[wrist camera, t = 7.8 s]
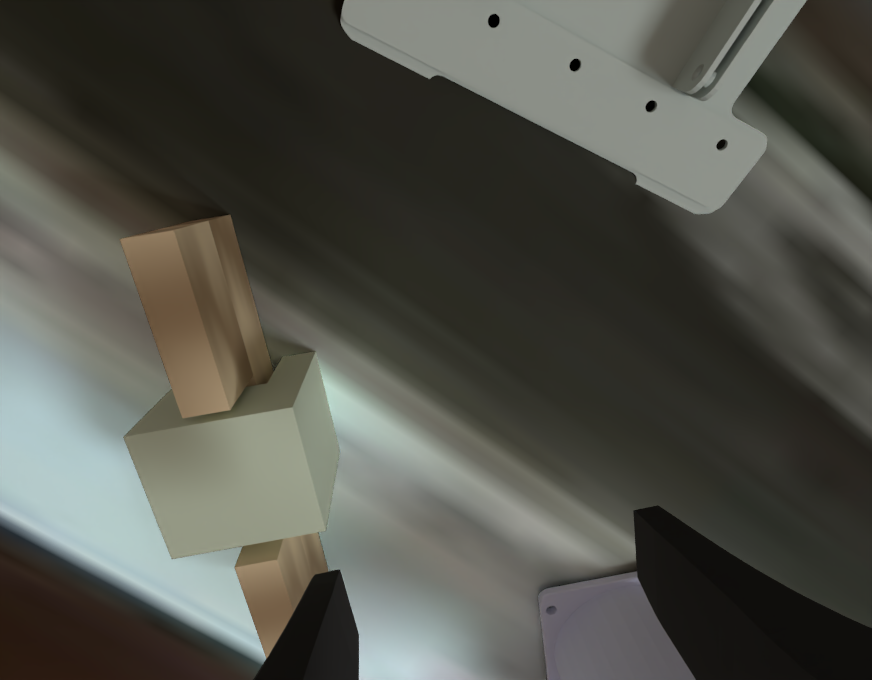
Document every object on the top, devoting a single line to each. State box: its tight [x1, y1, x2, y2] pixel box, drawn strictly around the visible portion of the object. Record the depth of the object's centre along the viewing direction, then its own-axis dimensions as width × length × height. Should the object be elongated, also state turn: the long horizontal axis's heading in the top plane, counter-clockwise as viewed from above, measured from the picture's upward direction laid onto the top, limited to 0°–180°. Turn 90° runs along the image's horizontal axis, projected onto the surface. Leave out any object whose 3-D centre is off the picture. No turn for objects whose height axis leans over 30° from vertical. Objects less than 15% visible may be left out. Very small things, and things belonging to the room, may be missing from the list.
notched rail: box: [120, 215, 329, 659], centre depth 18 cm, size 16×1×5 cm, turn 9°
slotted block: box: [123, 351, 340, 559], centre depth 18 cm, size 4×5×5 cm
